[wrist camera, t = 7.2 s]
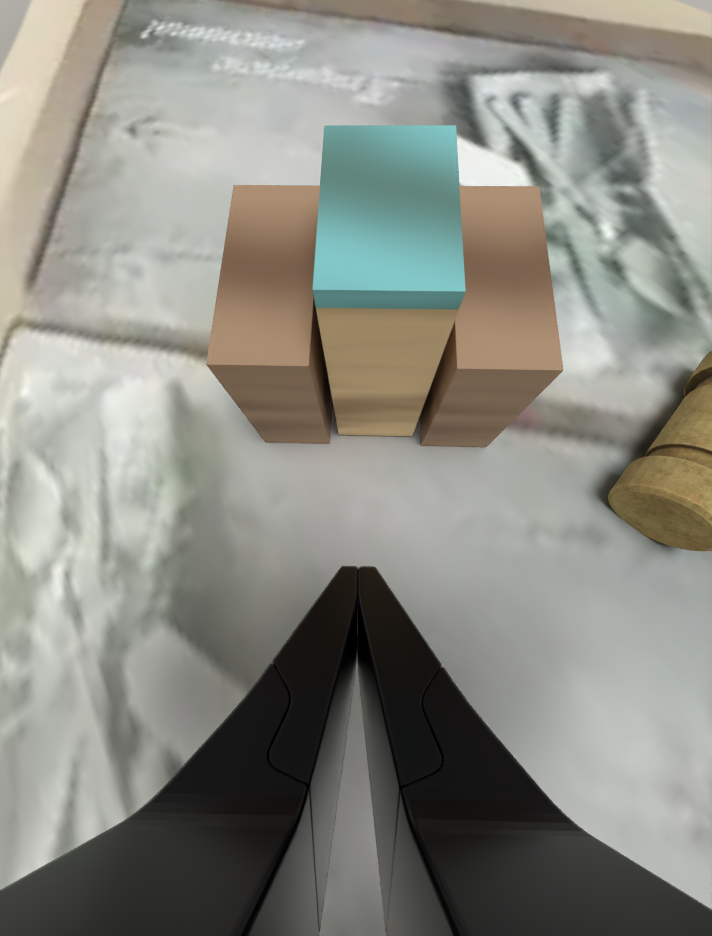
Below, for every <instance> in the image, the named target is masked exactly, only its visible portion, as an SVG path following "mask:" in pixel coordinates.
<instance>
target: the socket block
mask: <svg viewBox="0 0 712 936" xmlns="http://www.w3.org/2000/svg"><path fill="white" fill-rule="evenodd" d="M459 188H460V205H461V222H462V240H463V257H464V274H465V294H464V297H463V300H462V302H461V305H460V308H459V310H458V313H457V316H456V319H455V321H454V324H453V327H452V330H451V332H450V335H449V338H448V340H447V343H446V346H445V349H444V351H443V354H442V357H441V359H440V362H439V365H438V368H437V370H436V373H435V376H434V378H433V381H432V384H431V387H430V389H429V392H428V395H427V397H426V400H425V403H424V406H423V408H422V411H421V446H459V447H487V446H488V445H489V444H490V443H491V442H492V441H493V440H494V439H495V438H496V437H497V436H498V435H499V434H500V433H501V432H502V431H503V430H504V429H505V428H506V427H507V426H508V425H509V424H510V423H511V422H512V421H513V420H514V419H515V418H516V417H517V416H518V415H519V414H520V413H521V412H522V411H523V410H524V409H525V408H526V407H527V406H528V405H529V404H530V403H531V402H532V401H533V400H534V399H535V398H536V397H537V396H538V395H539V394H540V393H541V392H542V391H543V390H544V389H545V388H546V387H547V386H548V385H549V384H550V383H551V382H552V381H553V380H554V379H555V378H556V377H557V376H558V375H559V374H560V373H561V372H562V371H563V364H562V356H561V349H560V341H559V333H558V326H557V318H556V311H555V303H554V296H553V288H552V281H551V273H550V265H549V258H548V250H547V243H546V235H545V228H544V220H543V212H542V205H541V197H540V190H539V187H535V186H459ZM319 193H320V186H280V185H234V186H233V193H232V199H231V206H230V212H229V219H228V226H227V232H226V239H225V245H224V252H223V258H222V265H221V271H220V278H219V285H218V291H217V298H216V304H215V311H214V317H213V324H212V330H211V337H210V343H209V350H208V357H207V363H206V365H207V366H208V367H209V369H210V370H211V371H212V373H213V374H214V375H215V377H216V378H217V379H218V380H219V382H220V383H221V384H222V386H223V387H224V388H225V390H226V391H227V392H228V394H229V395H230V396H231V397H232V399H233V400H234V401H235V403H236V404H237V405H238V407H239V408H240V409H241V411H242V412H243V413H244V414H245V416H246V417H247V418H248V420H249V421H250V422H251V424H252V425H253V426H254V428H255V429H256V430H257V431H258V433H259V434H260V435H261V437H262V438H263V439H264V441H265V442H276V443H321V444H329V441H330V422H331V402H332V395H331V389H330V384H329V378H328V372H327V367H326V361H325V356H324V350H323V345H322V339H321V334H320V328H319V323H318V317H317V312H316V306H315V300H314V295H313V277H314V263H315V249H316V235H317V221H318V207H319Z"/></svg>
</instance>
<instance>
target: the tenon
mask: <svg viewBox="0 0 712 936" xmlns="http://www.w3.org/2000/svg"><path fill="white" fill-rule="evenodd" d="M464 294H465V274H464V257H463V240H462V222H461V205H460V188H459V171H458V153H457V136H456V126H324V138H323V152H322V166H321V180H320V193H319V207H318V221H317V235H316V249H315V263H314V277H313V295H314V300H315V306H316V312H317V317H318V323H319V328H320V334H321V339H322V345H323V350H324V356H325V361H326V367H327V372H328V378H329V384H330V389H331V395H332V400H333V406H334V411H335V417H336V422H337V428H338V433H339V435H369V436H413V433H414V430H415V427H416V425H417V422H418V419H419V416H420V414H421V411H422V408H423V406H424V403H425V400H426V397H427V395H428V392H429V389H430V387H431V384H432V381H433V378H434V376H435V373H436V370H437V368H438V365H439V362H440V359H441V357H442V354H443V351H444V349H445V346H446V343H447V340H448V338H449V335H450V332H451V330H452V327H453V324H454V321H455V319H456V316H457V313H458V310H459V308H460V305H461V302H462V300H463V297H464Z"/></svg>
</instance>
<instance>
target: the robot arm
mask: <svg viewBox="0 0 712 936" xmlns="http://www.w3.org/2000/svg"><path fill="white" fill-rule="evenodd" d="M357 620H358V632H357ZM356 662H357V663H358V675H359V684H360V694H361V703H362V713H363V722H364V732H365V741H366V751H367V760H368V770H369V779H370V788H371V798H372V807H373V817H374V826H375V836H376V845H377V855H378V864H379V874H380V883H381V893H382V902H383V912H384V921H385V931H386V934H387V936H712V909H710V908H708V907H707V906H705V905H703V904H702V903H700V902H699V901H697V900H695V899H694V898H692V897H690V896H689V895H687V894H686V893H684V892H682V891H681V890H679V889H677V888H676V887H674V886H673V885H671V884H669V883H668V882H666V881H664V880H663V879H661V878H660V877H658V876H656V875H655V874H653V873H651V872H650V871H648V870H647V869H645V868H643V867H642V866H640V865H638V864H637V863H635V862H634V861H632V860H630V859H629V858H627V857H625V856H624V855H622V854H621V853H619V852H617V851H616V850H614V849H612V848H611V847H609V846H608V845H606V844H604V843H603V842H601V841H599V840H598V839H596V838H595V837H593V836H592V835H590V834H588V833H587V832H586V831H584V830H583V829H582V828H581V827H579V826H578V825H577V824H575V823H574V822H573V821H572V820H571V819H570V818H569V817H567V816H566V815H565V814H564V813H563V812H562V811H561V810H560V809H559V808H558V807H557V806H556V805H555V804H554V803H553V802H552V801H551V800H550V798H549V797H548V796H547V795H546V794H545V793H544V792H543V791H542V789H541V788H540V787H539V786H538V785H537V784H536V782H535V781H534V780H533V779H532V778H531V777H530V775H529V774H528V773H527V772H526V771H525V769H524V768H523V767H522V766H521V765H520V764H519V762H518V761H517V760H516V759H515V758H514V757H513V755H512V754H511V753H510V752H509V751H508V749H507V748H506V747H505V746H504V745H503V744H502V742H501V741H500V740H499V739H498V738H497V737H496V735H495V734H494V733H493V732H492V731H491V729H490V728H489V727H488V726H487V725H486V723H485V722H484V721H483V720H482V719H481V717H480V716H479V715H478V714H477V712H476V711H475V710H474V709H473V707H472V706H471V705H470V704H469V702H468V701H467V700H466V698H465V697H464V695H463V694H462V693H461V691H460V690H459V689H458V687H457V686H456V684H455V683H454V682H453V680H452V679H451V677H450V676H449V674H448V673H447V671H446V670H445V668H444V667H442V664H441V663H440V661H439V660H438V658H437V657H436V655H435V654H434V652H433V651H432V649H431V648H430V647H429V645H428V644H427V642H426V641H425V639H424V638H423V636H422V635H421V633H420V632H419V630H418V629H417V627H416V626H415V624H414V623H413V622H412V620H411V619H410V617H409V616H408V614H407V613H406V611H405V610H404V608H403V607H402V605H401V604H400V602H399V601H398V599H397V598H396V597H395V595H394V594H393V592H392V591H391V589H390V588H389V586H388V585H387V583H386V582H385V580H384V579H383V577H382V576H381V574H380V573H379V572H378V570H377V569H376V568H375V567H373V566H360V567H359V569H358V567H356V566H342V567H341V568H340V569H339V570H338V572H337V573H336V574H335V576H334V577H333V579H332V580H331V581H330V583H329V584H328V585H327V587H326V588H325V589H324V591H323V592H322V594H321V595H320V596H319V598H318V599H317V600H316V602H315V603H314V605H313V606H312V607H311V609H310V610H309V611H308V613H307V614H306V615H305V617H304V618H303V620H302V621H301V622H300V624H299V625H298V626H297V628H296V629H295V631H294V632H293V633H292V635H291V636H290V637H289V639H288V640H287V642H286V643H285V644H284V646H283V647H282V648H281V650H280V651H279V652H278V654H277V655H276V657H275V658H274V659H273V661H272V663H271V664H270V665H269V666H268V667H267V669H266V670H265V671H264V673H263V674H262V676H261V677H260V678H259V680H258V681H257V682H256V683H255V685H254V686H253V687H252V689H251V690H250V691H249V692H248V694H247V695H246V696H245V698H244V699H243V700H242V701H241V702H240V703H239V705H238V706H237V707H236V708H235V709H234V710H233V711H232V713H231V714H230V715H229V716H228V717H227V718H226V719H225V721H224V722H223V723H222V724H221V725H220V726H219V727H218V728H217V729H216V730H215V732H214V733H213V734H212V735H211V736H210V737H209V738H208V739H207V740H206V741H205V743H204V744H203V745H202V746H201V747H200V748H199V749H198V750H197V751H196V752H195V753H194V755H193V756H192V757H191V758H190V759H189V760H188V761H187V762H186V763H185V764H184V766H183V767H182V768H181V769H180V770H179V771H178V772H177V773H176V774H175V775H174V777H173V778H172V779H171V780H170V781H169V782H168V783H167V784H166V785H165V786H164V787H163V788H162V789H161V790H160V791H159V792H158V793H157V794H156V795H155V796H154V797H153V798H152V799H151V800H150V801H149V802H148V803H147V804H145V805H144V806H143V807H142V808H140V809H139V810H138V811H137V812H136V813H134V814H133V815H131V816H130V817H129V818H127V819H126V820H124V821H123V822H121V823H119V824H118V825H116V826H114V827H112V828H111V829H109V830H107V831H105V832H103V833H102V834H100V835H98V836H96V837H95V838H93V839H91V840H89V841H87V842H86V843H84V844H82V845H80V846H78V847H77V848H75V849H73V850H71V851H69V852H68V853H66V854H64V855H62V856H60V857H59V858H57V859H55V860H53V861H52V862H50V863H48V864H46V865H44V866H43V867H41V868H39V869H37V870H35V871H34V872H32V873H30V874H28V875H26V876H25V877H23V878H21V879H19V880H18V881H16V882H14V883H12V884H10V885H9V886H7V887H5V888H3V889H1V890H0V936H319V931H320V926H321V919H322V912H323V904H324V897H325V890H326V883H327V875H328V868H329V861H330V853H331V846H332V839H333V832H334V824H335V817H336V810H337V802H338V795H339V788H340V780H341V773H342V766H343V759H344V751H345V744H346V737H347V729H348V722H349V715H350V708H351V700H352V693H353V686H354V678H355V671H356Z"/></svg>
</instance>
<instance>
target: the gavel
mask: <svg viewBox="0 0 712 936" xmlns="http://www.w3.org/2000/svg"><path fill="white" fill-rule="evenodd" d="M608 501H609V504H610V506H611V507H612V509H613V510H614V511H615V513H616V514H617V515H618V516H619V517H620V518H621V519H623V520H624V521H625V522H627V523H628V524H630V525H631V526H632V527H634V528H635V529H636V530H638V531H639V532H640V533H642V534H643V535H645V536H647V537H649V538H651V539H653V540H656V541H658V542H660V543H663V544H666V545H669V546H672V547H676V548H680V549H686V550H693V551H712V351H711V352H709V353H708V354H707V355H706V356H705V357H704V359H703V360H702V361H701V363H700V364H699V366H698V367H697V368H696V370H695V371H694V373H693V374H692V376H691V377H690V378H689V380H688V381H687V383H686V385H685V388H684V399H683V400H682V402H681V403H680V405H679V406H678V408H677V409H676V411H675V412H674V413H673V415H672V416H671V418H670V419H669V421H668V422H667V423H666V425H665V426H664V428H663V429H662V431H661V432H660V433H659V435H658V436H657V438H656V439H655V441H654V442H653V443H652V445H651V446H650V448H649V449H648V451H647V452H646V454H645V456H644V457H643V458H639V459H636V460H634V461H633V462H631V463H630V464H629V465H628V466H627V468H626V469H625V471H624V472H623V474H622V475H621V476H620V478H619V479H618V481H617V482H616V484H615V485H614V486H613V488H612V489H611V491H610V492H609V494H608Z"/></svg>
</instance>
